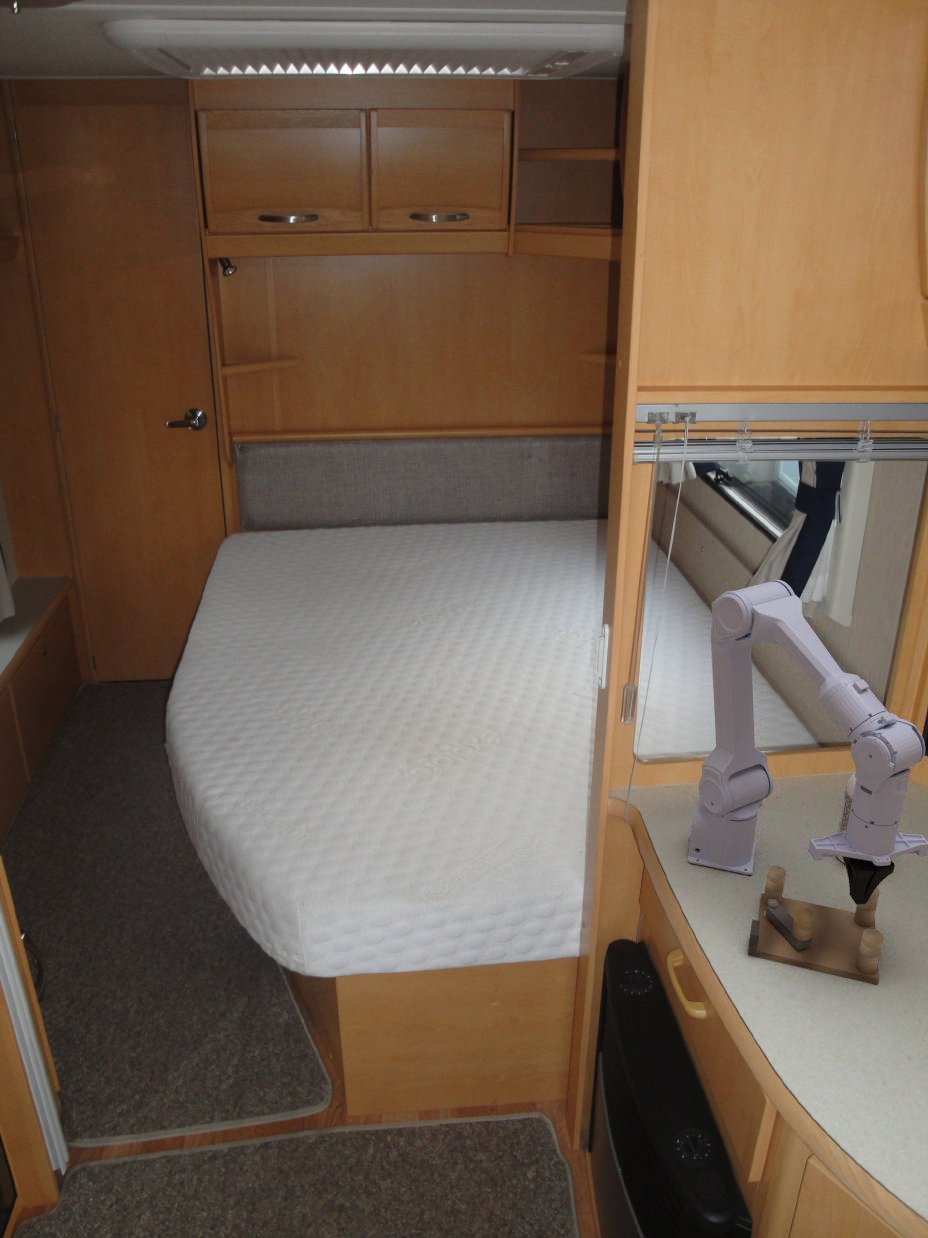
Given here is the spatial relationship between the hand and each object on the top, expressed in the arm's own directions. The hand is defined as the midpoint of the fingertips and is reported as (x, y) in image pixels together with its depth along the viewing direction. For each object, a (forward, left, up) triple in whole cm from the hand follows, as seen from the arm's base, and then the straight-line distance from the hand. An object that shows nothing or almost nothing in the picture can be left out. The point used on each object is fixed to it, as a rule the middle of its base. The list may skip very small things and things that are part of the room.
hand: (857, 899), depth 121 cm
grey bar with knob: (-8, -1, -7) cm, 11 cm away
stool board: (-4, 0, -8) cm, 9 cm away
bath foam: (+2, +21, -9) cm, 23 cm away
